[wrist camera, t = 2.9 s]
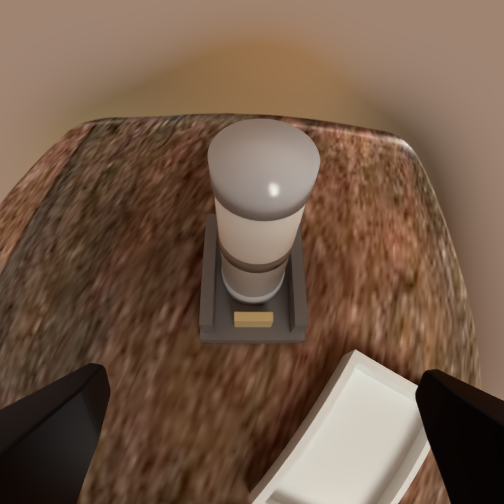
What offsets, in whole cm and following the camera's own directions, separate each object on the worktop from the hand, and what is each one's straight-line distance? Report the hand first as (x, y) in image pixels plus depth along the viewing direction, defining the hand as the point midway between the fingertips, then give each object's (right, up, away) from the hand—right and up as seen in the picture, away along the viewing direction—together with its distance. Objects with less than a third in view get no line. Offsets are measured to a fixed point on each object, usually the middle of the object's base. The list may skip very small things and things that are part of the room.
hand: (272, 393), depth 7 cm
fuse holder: (-1, +1, +15) cm, 16 cm away
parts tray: (+6, -10, +10) cm, 16 cm away
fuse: (-1, +2, +14) cm, 15 cm away
